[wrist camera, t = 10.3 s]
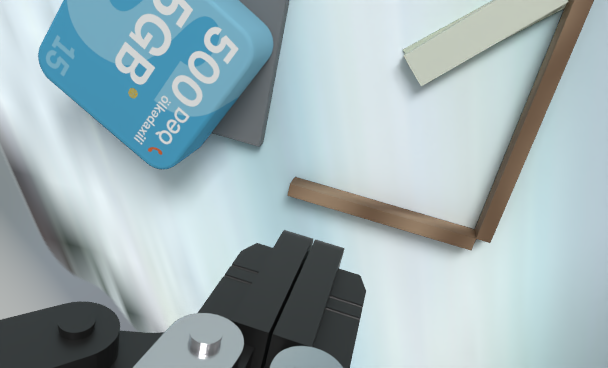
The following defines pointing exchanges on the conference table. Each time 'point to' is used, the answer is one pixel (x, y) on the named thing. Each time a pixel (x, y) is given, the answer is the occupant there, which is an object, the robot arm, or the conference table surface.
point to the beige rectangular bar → (475, 34)
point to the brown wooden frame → (508, 170)
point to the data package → (155, 67)
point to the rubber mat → (257, 81)
